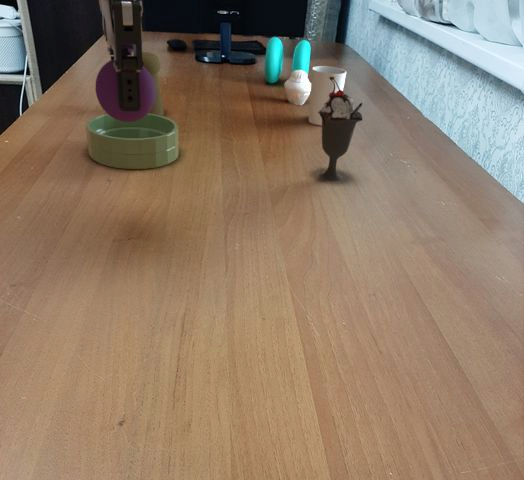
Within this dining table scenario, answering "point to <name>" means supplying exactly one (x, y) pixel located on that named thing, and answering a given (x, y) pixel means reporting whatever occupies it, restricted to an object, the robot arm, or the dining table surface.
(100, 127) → the bowl
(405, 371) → the dining table surface
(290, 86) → the muffin
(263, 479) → the dining table surface
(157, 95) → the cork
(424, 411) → the dining table surface
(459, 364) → the dining table surface
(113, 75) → the ball
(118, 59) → the robot arm
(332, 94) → the sundae
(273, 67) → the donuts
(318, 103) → the white paper cup
